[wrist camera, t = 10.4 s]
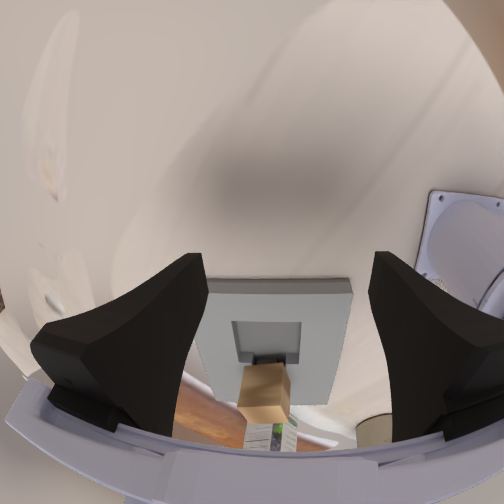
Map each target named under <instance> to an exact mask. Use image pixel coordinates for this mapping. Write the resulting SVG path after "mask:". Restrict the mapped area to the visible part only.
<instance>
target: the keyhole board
mask: <svg viewBox="0 0 504 504" xmlns="http://www.w3.org/2000/svg"><path fill="white" fill-rule="evenodd" d="M206 280H207V285H208V290H209V294H208V299H207V303H206V307H205V311H204V314H203V317H202V319H201V322H200V324H199V327H198V329H197V332H196V334H195V337H194V340H195V343H196V346H197V349H198V352H199V355H200V358H201V361H202V364H203V366H204V369H205V372H206V375H207V378H208V380H209V383H210V386H211V388H212V391H213V394H214V396H215V399H216V401H225V402H236V403H238V399H239V394H240V388H241V383H242V377H243V372H244V366H250V365H256V363H257V359H265V358H275V357H277V358H278V361H279V363H282V362H283V364H284V366H285V369H286V372H287V374H288V377H289V380H290V382H291V389H290V405H327V403H328V400H329V396H330V393H331V389H332V386H333V382H334V378H335V375H336V371H337V367H338V363H339V359H340V355H341V351H342V346H343V342H344V338H345V333H346V328H347V324H348V319H349V313H350V308H351V303H352V297H353V291H352V287H351V284H350V280H349V279H206Z"/></svg>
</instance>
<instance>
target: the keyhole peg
mask: <svg viewBox="0 0 504 504" xmlns="http://www.w3.org/2000/svg"><path fill="white" fill-rule="evenodd" d="M290 389H291V382H290V380H289V377H288V374H287V372H286V369H285V366H284V364H283V362H282V363H279V361H278V358H277V357H275V358H265V359H257V363H256V365H250V366H244V372H243V377H242V383H241V388H240V394H239V399H238V405H237V408H238V409H239V410H240V412H241V413H242V414H243V416H244V417H245V418H246V420H247V421H248V422H249V423H250V424H273V423H289V410H290Z"/></svg>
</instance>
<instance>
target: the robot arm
mask: <svg viewBox="0 0 504 504" xmlns="http://www.w3.org/2000/svg"><path fill="white" fill-rule="evenodd" d="M441 195H442V198H441V199H440V200H439V197H440V196H441ZM497 202H498V204H497ZM424 273H425V274H424ZM423 274H424V275H423ZM430 279H441V281H442V282H443V284H444V285H445V287H446V288H447V290H448V292H449V293H450V294H448V293H446V292H445V291H443V290H442V289H440V288H439V287H437V286H436V285H435V284H433V283H432V282H430V281H429V280H430ZM208 294H209V290H208V285H207V280H206V275H205V270H204V265H203V260H202V255H201V253H187V254H185V255H183V256H182V257H180V258H179V259H177V260H176V261H174V262H173V263H171V264H170V265H169V266H167V267H166V268H164V269H163V270H162V271H160V272H159V273H157V274H156V275H155V276H153V277H152V278H150V279H149V280H147V281H145V282H144V283H142V284H141V285H139V286H138V287H136V288H135V289H133V290H131V291H130V292H128V293H126V294H124V295H122V296H121V297H119V298H117V299H115V300H113V301H111V302H108V303H106V304H104V305H102V306H99V307H97V308H95V309H92V310H90V311H87V312H84V313H82V314H79V315H76V316H72V317H69V318H65V319H61V320H57V321H53V322H49V323H46V324H45V325H44V326H43V327H42V329H41V330H40V331H39V332H38V334H37V335H36V336H35V338H34V339H33V340H32V342H31V344H30V348H31V352H32V354H33V356H34V358H35V360H36V361H37V362H38V364H39V365H40V366H41V368H42V369H43V370H44V371H45V372H46V374H47V375H48V376H49V377H50V379H51V380H52V381H53V382H54V383H55V385H54V387H53V389H51V388H49V387H48V386H47V385H45V384H44V383H42V382H40V381H38V380H36V379H34V378H32V377H29V379H28V381H27V382H26V384H25V385H24V387H23V389H22V390H21V392H20V393H19V395H18V397H17V399H16V400H15V402H14V404H13V405H12V407H11V409H10V410H9V412H8V414H7V416H6V418H5V422H6V423H7V424H8V425H10V426H11V427H12V428H13V429H14V430H16V431H17V432H18V433H19V434H20V435H22V436H23V437H24V438H26V439H27V440H28V441H30V442H31V443H32V444H34V445H35V446H36V447H38V448H39V449H40V450H42V451H43V452H45V453H46V454H48V455H50V456H51V457H53V458H54V459H56V460H57V461H59V462H60V463H62V464H64V465H65V466H67V467H69V468H71V469H72V470H74V471H76V472H78V473H80V474H81V475H83V476H85V477H87V478H88V479H90V480H92V481H94V482H96V483H98V484H100V485H103V486H105V487H107V488H109V489H111V490H114V491H116V492H118V493H120V494H123V495H125V496H126V498H125V501H124V504H434V503H437V502H440V501H442V500H445V499H447V498H450V497H452V496H455V495H457V494H459V493H461V492H464V491H466V490H468V489H470V488H472V487H474V486H476V485H478V484H480V483H482V482H484V481H486V480H488V479H490V478H491V477H493V476H495V475H497V474H498V473H500V472H502V471H504V199H502V198H495V197H488V196H481V195H473V194H464V193H455V192H445V191H432V192H431V194H430V196H429V203H428V209H427V216H426V221H425V227H424V232H423V237H422V242H421V246H420V251H419V255H418V259H417V263H416V267H415V270H414V269H413V268H411V267H410V266H409V265H408V264H406V263H405V262H404V261H402V260H401V259H400V258H398V257H397V256H395V255H394V254H392V253H391V252H389V251H375V256H374V262H373V268H372V274H371V279H370V284H369V289H368V294H369V300H370V305H371V310H372V314H373V317H374V320H375V323H376V326H377V329H378V333H379V336H380V339H381V342H382V346H383V349H384V352H385V356H386V361H387V366H388V373H389V380H390V389H391V401H392V443H389V444H384V445H377V446H371V447H363V448H355V449H345V450H335V451H334V450H332V451H312V452H280V451H259V450H246V449H236V448H227V447H220V446H213V445H206V444H200V443H195V442H189V441H184V440H180V439H175V438H172V429H173V421H174V414H175V408H176V402H177V396H178V391H179V387H180V382H181V377H182V373H183V369H184V365H185V361H186V358H187V355H188V352H189V350H190V347H191V344H192V342H193V339H194V337H195V334H196V332H197V329H198V327H199V324H200V322H201V319H202V317H203V314H204V311H205V307H206V303H207V299H208Z"/></svg>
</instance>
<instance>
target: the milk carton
mask: <svg viewBox="0 0 504 504" xmlns="http://www.w3.org/2000/svg"><path fill="white" fill-rule="evenodd" d="M4 308H5V305H4V302H3V298H2V294H1V290H0V313H1V311H2V310H3V309H4Z"/></svg>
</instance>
